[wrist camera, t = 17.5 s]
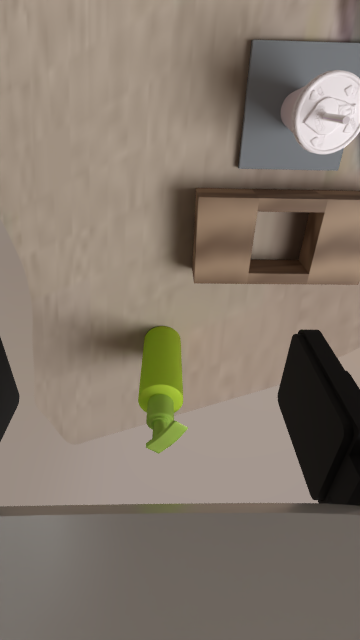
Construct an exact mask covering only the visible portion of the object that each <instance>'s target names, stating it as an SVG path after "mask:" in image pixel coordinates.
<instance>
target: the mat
mask: <svg viewBox="0 0 360 640" xmlns="http://www.w3.org/2000/svg"><path fill="white" fill-rule="evenodd" d="M334 70H341V71H348V72H351V73H353V74H355V75H356V76H357V77H359V78H360V43H339V42H308V41H278V40H252V43H251V52H250V62H249V71H248V80H247V90H246V99H245V108H244V117H243V127H242V136H241V145H240V155H239V164H238V168H240V169H290V170H338V169H339V165H340V161H341V157H342V153H343V149H344V148H342V149H341V150H339V151H336V152H334V153H330V154H316V153H311V152H309V151H307V150H305V149H303V148H302V147H301V146H300V145H299V144H298V142H297V141H296V139H295V136H294V134H293V133H292V132H291V131H290V130H289V129H288V128H287V127H286V126H285V125H284V123H283V122H282V119H281V106H282V104H283V102H284V100H285V98H286V97H287V96H288V95H289V94H290V93H292V92H294V91H296V90H298V89H300V88H302V87H304V86H306V85H307V84H308V83H309V82H310V81H311V80H313V79H314V78H315V77H317V76H318V75H320V74H323V73H325V72H327V71H334Z"/></svg>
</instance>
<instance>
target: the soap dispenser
mask: <svg viewBox="0 0 360 640" xmlns="http://www.w3.org/2000/svg"><path fill="white" fill-rule="evenodd" d="M138 402H139V405H140V407H141V408H142V409H143V410H144V411H145V412H147V425H148V426H149V427H150V428H151V429H153V438H152V440H150V441H149V442H147V443H146V448H148V449H150V450H152V451H155V452H156V453H160V452H162V451H163V450H165V449H166V448H168V447H169V446H171V445H172V444H173V443H174V442H175V441H177V440H178V439H179V438H180V437H181V436H182V434H183V433H184V432H185V431H186V430H187V429H188V427H186V426H184V425H182V424H180V423H178V422H177V421H174V413H175V412H176V411H178V410H179V409H180V408H181V406H182V404H183V386H182V364H181V342H180V336H179V334H178V333H177V332H176V331H175V330H174V329H172V328H170V327H166V326H159V327H155V328H153V329H151V330H149V331H148V332H147V334H146V335H145V339H144V348H143V358H142V368H141V378H140V388H139V398H138Z"/></svg>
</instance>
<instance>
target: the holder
mask: <svg viewBox="0 0 360 640" xmlns="http://www.w3.org/2000/svg"><path fill="white" fill-rule="evenodd" d="M258 211H261V212H309V216H308V220H307V225H306V229H305V234H304V238H303V242H302V247H301V251H300V255H299V260H252V259H251V253H252V246H253V239H254V232H255V225H256V218H257V212H258ZM192 270H193V278H194V283H220V284H337V285H358V284H359V281H360V191H333V190H277V189H222V188H196V200H195V222H194V243H193V265H192Z"/></svg>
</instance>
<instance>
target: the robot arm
mask: <svg viewBox="0 0 360 640" xmlns="http://www.w3.org/2000/svg"><path fill="white" fill-rule="evenodd" d="M18 403H19V393H18V390H17V387H16V384H15V381H14V377H13V374H12V371H11V368H10V365H9V362H8V359H7V356H6V353H5V350H4V347H3V344H2V341H1V338H0V441H1V439H2V437H3V435H4V433H5V431H6V429H7V427H8V425H9V423H10V420H11V418H12V416H13V414H14V412H15V410H16V408H17V406H18ZM278 403H279V406H280V409H281V412H282V415H283V418H284V421H285V424H286V427H287V429H288V432H289V435H290V438H291V440H292V444H293V446H294V449H295V452H296V455H297V458H298V461H299V464H300V467H301V469H302V472H303V475H304V478H305V481H306V484H307V487H308V489H309V492H310V495H311V497H312V499H313V500H318V502H319V504H317V503H315V504H314V503H312V504H311V503H212V504H122V505H56V506H5V507H4V506H3V507H0V640H360V389H359V387H358V386H357V384H356V383H355V381H354V380H353V378H352V377H351V375H350V374H349V373H348V372H347V371H345V370H344V368H343V367H342V365H341V364H340V362H339V360H338V359H337V357H336V356H335V354H334V352H333V351H332V349H331V348H330V346H329V344H328V343H327V341H326V340H325V338H324V336H323V335H322V333H321V332H320V331H319V330H300V331H299V332H298V334H294V335H293V336H292V340H291V344H290V348H289V352H288V356H287V360H286V364H285V368H284V372H283V376H282V380H281V384H280V388H279V392H278Z"/></svg>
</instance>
